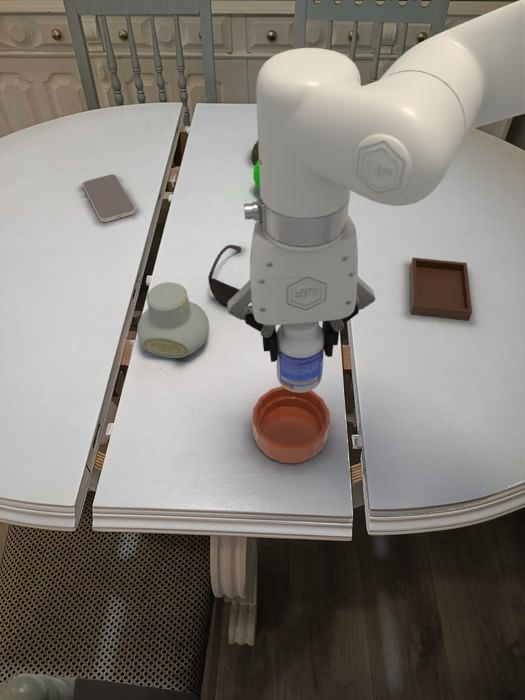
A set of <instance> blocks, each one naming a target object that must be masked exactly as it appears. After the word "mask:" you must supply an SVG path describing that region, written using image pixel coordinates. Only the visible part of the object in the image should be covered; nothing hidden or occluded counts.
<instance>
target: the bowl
mask: <svg viewBox="0 0 525 700" xmlns="http://www.w3.org/2000/svg"><path fill="white" fill-rule="evenodd" d="M330 420H331V419H330V410H329V408H328V406H327V404H326V402H325V400H324V399H323V398H322V397H321V396H320V395H318V394H317V393H316V392H315V391H313V390H311V391H308V392H303V393H297V392H292V391H289V390H287V389H285V388H284V387H283V386H282V385H280V386H277V387H274V388H271V389H270V390H268V391H266V392H265V393H264V394H263V395H261V396H260V397H259V399H258V400H257V402H256V404H255V405H254V407H253V411H252V433H253V438H254V441H255V443H256V445H257V447H258V449H259V450H260V451H262V452H263V454H264V455H265V456H266V457H268V458H270V459H272V460H275V461H277V462H279V463H282V464H299V463H303V462H305V461H308V460H311V459H313V458H314V457H316V455H317V454H319V453H320V452H321V451H322V450H323V449H324V446H325V444H326V442H327V440H328V438H329V430H330Z"/></svg>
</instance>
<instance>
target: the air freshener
mask: <svg viewBox="0 0 525 700" xmlns="http://www.w3.org/2000/svg"><path fill="white" fill-rule="evenodd" d="M146 295H147V296H146V303H147V309H146V310H145V311H143V313H142V314H141V316H140V318H139V320H138V322H137V327H136V329H137V331H136V334H137V338H138V341H139V342H140V345H141V346H142V347H143V348H144V349H145V350H146V351H148V352H149V353H151V354H153V355H156V356H159V357H163V358H169V359H170V358H172V359H178V358H179V359H180V358H185V357H187V356H189V355H191V354H193V353H195V352H196V351H197V350H199V349H200V348H201V347H202V346H203V344H205V341H206V340H207V338H208V335H209V332H210V321H209V318H208V316H207V313H206V312H205V311H204V310H203V308H202V307H201V306H199V305H198V304H196V303H195V302H192V301H189V297H188V292H187V289H186V288H185V287H184V286H183V285H181V284H179V283H176V282H171V281H167V282H161V283H157V285H154V286H153V287H152V288H150V290H149V291H148V292H147V294H146Z"/></svg>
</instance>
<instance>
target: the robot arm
mask: <svg viewBox="0 0 525 700" xmlns="http://www.w3.org/2000/svg"><path fill="white" fill-rule="evenodd" d="M255 90H256V91H255V93H256V94H255V95H256V97H255V99H256V121H257V123H256V124H257V140H258V151H259V173H260V189H258V190H259V191H258V192H259V196H258V197H256V201H252V203H243V212H244V214H243V215H244V220H246V221H247V220H248V221H249V220H253V221H254V222H255V223H254V226H253V232H252V238H251V246H250V256H249V280H248V281H247V282H246V283H245V284H244V285H242V287H241V288H239V289H240V290H239V291H238V292H237V293H236V294H235V295H234V296H233V297H232V298H231V299H230V300H229V301H228V306H227V313H228V314H229V315H230V316H233V317H234V318H236V319H238V320H241V321H242V320H243V321H244V322H245V324H246V325H247V326H249V327H251V328H252V329H254V330H256V331H258V332H260V336H261V337H262V348H263V349H262V350H263V353H264V352H269V356H270V363H277V334H276V332H277V328H276V327H277V326H281V325H284V324H296V323H308V322H319V323H320V322H321V328H322V330H323V332H324V336H325V341H324V356H325V357H327V358H330V357H331V358H332V357H333V354H334V352H333V351H334V346H339V338H340V332H342V331H343V330H344V328H345V324H346V323H347V322H349V321H350V320H351V319H353V318H355V317H356V316H357V315H358V314H359V312H360V311H361V310H364V309H365V308H367V307H368V306H369V305H371V304H373V303H374V302H375V301H376V295H375V293H374V290H373V288H372V287H370V286H369V285H368V284H367V283H366V282H365V281H364V280H362V279H361V278H360V276H358V271H359V269H358V268H359V249H358V235H357V229H356V225H355V223H354V222H353V219H352V218H351V216H350V215H349V207H350V198H351V192H353V193H355V194H356V195H359V196H361V197H363V198H365V199H367V200H369V201H372V202H375V203H377V204H382V205H386V206H391V207H403V206H409V205H413V204H415V203H419V202H420V201H422V200H424V199H425V198H427V197H428V196H429V195H430V194H431V193H433V192H434V191H435V190H436V189H437V187H438V186H439V185H440V184H441V182H442V181H443V179H444V177H445V176H446V174H447V172H448V171H449V169H450V167H451V165H452V163H453V161H454V159H455V157H456V156H457V154H458V152H459V151H460V150H461V149H460V148H461V147H462V145H463V144H464V141H465V139H466V138H467V136H468V134H469V132H470V131H471V130H474V129H478V128H479V127H483V126H486V125H490V124H493V123H496V122H499V121H503V120H506V119H510V118H515V117H518V116H521V115H525V0H517V1H514V2H512V3H509V4H507V5H504V6H502V7H499V8H496V9H494V10H491V11H490V12H487V13H484V14H482V15H480V16H477V17H474V18H473V19H470V20H467V21H465V22H463V23H461V24H458V25H455V26H453V27H451V28H449V29H446V30H443V31H442V32H439V33H437V34H435V35H433V36H431V37H428V38H426V39H424V40H423V41H421V42H419V43H417V44H416V45H414V46H412V47H411V48H409V49H408V50H407V51H406V52H404V53H403V54H402V55H401V56H400V57H398V58H397V59H396V60H395V61H394V63H392V65H391V66H389V68H387V70H386V71H385V72H384V73H383V75H382V76H381V77H380V78H379V79H377V80H375V81H373V82H371V83H368V84H367V83H366V84H363V85H362V81H361V75H360V71H359V69H358V67H357V65H356V64H355V62H354V61H353V60H352V59H351V58H349V56H346V55H345V54H343V53H341V52H338V51H335V50H332V49H327V48H326V49H325V48H321V47H320V48H319V47H303V48H302V47H300V48H294V49H288V50H285V51H281V52H279V53H277V54H275V55H273V56H271V57H270V58H269V59H267V60H266V61H265V62H264V63H263V65H262V66H261V68H260V69H259V72H258V75H257V78H256V89H255ZM251 302H252V303H251ZM250 304H251V305H250Z"/></svg>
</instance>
